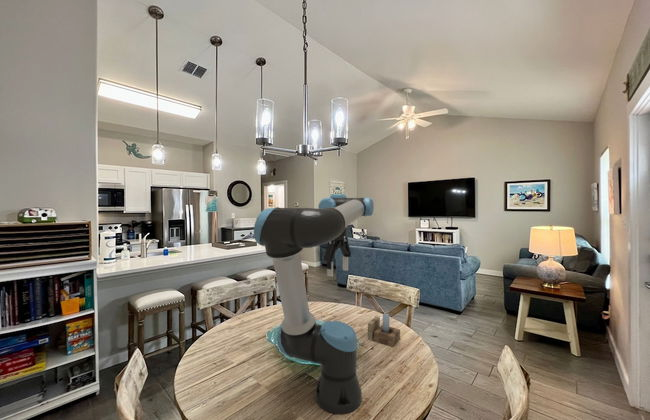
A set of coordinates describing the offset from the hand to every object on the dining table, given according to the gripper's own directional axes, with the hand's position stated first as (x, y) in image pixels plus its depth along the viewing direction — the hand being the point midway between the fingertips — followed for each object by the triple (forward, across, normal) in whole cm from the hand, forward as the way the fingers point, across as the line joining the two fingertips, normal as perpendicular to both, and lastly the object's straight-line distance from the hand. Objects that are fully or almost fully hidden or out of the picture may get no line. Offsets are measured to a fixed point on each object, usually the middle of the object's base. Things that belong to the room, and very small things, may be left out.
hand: (338, 273), depth 128 cm
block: (+31, +12, -20) cm, 38 cm away
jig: (+32, +12, -20) cm, 39 cm away
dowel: (+31, +11, -19) cm, 38 cm away
